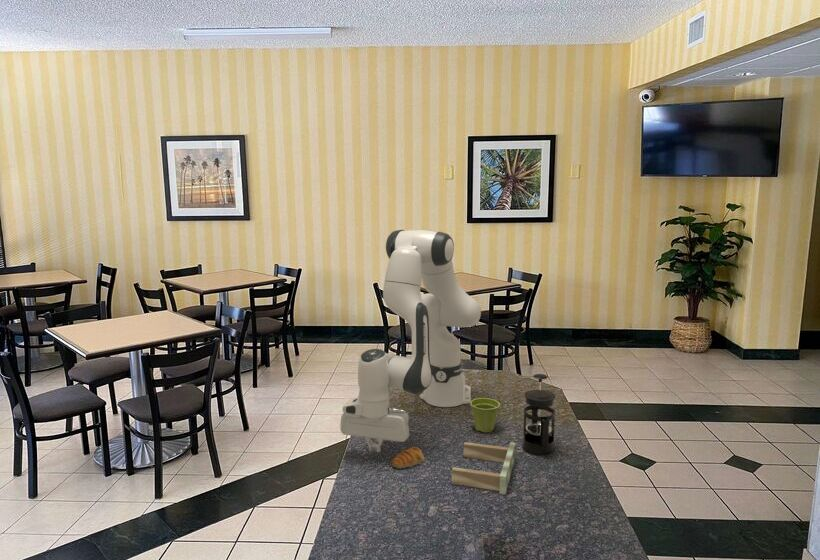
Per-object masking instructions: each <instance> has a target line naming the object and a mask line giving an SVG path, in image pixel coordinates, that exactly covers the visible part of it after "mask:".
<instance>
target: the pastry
mask: <svg viewBox="0 0 820 560" xmlns="http://www.w3.org/2000/svg"><path fill="white" fill-rule="evenodd" d="M422 462H423V463H424V462H425V456H424V453H423V452H422V450H421V448H419V447H418V446H411V447H410V448H407V449H403V450H401V451H400V452H399V453H398V454H397V455H396V456H395V457H393V459H392V464H391V466H392V467H394V468H396V469H399V470H402V469H401V468H403V469H407V468H406V467H411V468H413V467H415V466H414V465H416V466H418V465H417V464H419V465H421V464H423V463H422ZM420 463H421V464H420ZM412 466H413V467H412Z"/></svg>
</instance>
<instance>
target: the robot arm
mask: <svg viewBox="0 0 820 560" xmlns="http://www.w3.org/2000/svg"><path fill="white" fill-rule="evenodd" d="M385 251H386V252H385V253H386V255H387V257H388V259H389V260H388V263H387V267H386V271H385V276H384V282H383V289H382V290H383V291H382V297H383V298H382V299H383V301H384V303H385V305H386V307H388V309H389V310H390V311H391V312H392V313H394V314H396V315H398V316H399V317H400V318H402V319H403V320H405V322H407V324H408V325H409V327H410V330H411V331H410V332H411V356H410V357H409V356H403V355H402V356H401V355H398V354H392V353H387V352H386V351H385V350H383V349H381V348H371V349H367V350H365V351H364V352H363V353H361V354H360V357H359V361H358V367H357V382H358V383H357V384H358V388H359V391H358V396H357V397H353V398H350V399H349V400H348V401H347V402H346V403H345V404H344V405H343V406H342V412H343V413H342V414H341V416H340V425H339V426H340V430H339V431H340V433H341V434H342V435H343V436H354V437H360V438H365V439H364V440H365V442H366V444H367V445H368V448H369V452H372V453H380V452H381V448H382V447H381V446H382V444H383V442H384V441H392V442H400V443H404V442H406V440H408V439H409V436H410V427H409V421H410V419H409V418H410V415H409V413H408V411H406V410H404V409H402V408H396V407H395V408H394V407H390V393H389V389H390V388H391V389H396V390H400V391H404V392H407V393H410V394H413V395H419V398H420V399H422V400H424V401H425V402H426V404H428V405H431V406H432V407H433V406H434V407H438V408H439V407H440V408H452V407H453V408H454V407H458V406H461V405H468V404H470V402H471V401H472V394H471V393H472V390H471V389H472V388H471V385H467V384H466V375H465V374H464V373H463V365H462V364H463V363H462V361H463V360H462V358H461V346H462V345H461V342H460V340H459V339H458V338H457V337H456V336H455V335H454V334H453V333H451V332H450V331H449V330H448V328H447V327H453V328H470V327H475V325H477V324H478V322H479V321H480V319H481V315H482V309H481V305H480V303H479V301H478V300H477V299H475V298H474V297H472V296H470V295H469V294H468V293H467V292H466V291H465V290H464V288H462V287H461V285H460V284H459V282H458V280H457V278H456V274H455V270H454V269H455V268H454V264H453V260H452V259H453V257H454V253H455V243H454V240H453V238H452V237H451V235H449V234H448V233H446V232H442V231H432V230H427V229H419V230H418V229H410V230H408V229H407V230H406V229H405V230H404V229H398V230H393V231H391V232H390V234H389V235H388V236H387V239H386V243H385ZM422 284H423V287H424V288H425V290H426V291H427V292H428V293H422V294H421V288H422V287H421V286H422ZM420 393H421V394H420ZM372 439H376V441H377V443H374V442H373V440H372Z"/></svg>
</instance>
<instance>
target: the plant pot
mask: <svg viewBox="0 0 820 560" xmlns="http://www.w3.org/2000/svg"><path fill="white" fill-rule="evenodd" d="M469 405H470V406H471V409H472V414H473V422H474V429H475V430H476V431H479V432H481V433H491V432H492V431H493V430H494V429H495V426H496V425H495V424H496V419H497V414H498V413H497V412H498V410H499V408H500V406H501V403H500V402H499V401H497V400H496V399H493V398H491V397H490V398H489V397H477V398H474V399H471V402H470V403H469Z"/></svg>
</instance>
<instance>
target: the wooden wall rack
mask: <svg viewBox="0 0 820 560" xmlns="http://www.w3.org/2000/svg"><path fill="white" fill-rule="evenodd" d="M466 457H468V459H473V460H483V461H491V462H497V463H503V464H502V469H501V471H500V473H498V472H490V471H482V470H477V469H476V470H475V469H469V468H461V467H454V466H453V467H452V468H451V484H452V485H458V486H463V485H464V487H470V488H479V489H484V490H485V489H486V490H491V491H498V492H499V494H500V495H506V494H507V490H508V487H509V484H510V478H511V476H512V473H513V468H514V465H515V461H516V442H512V441H511V442H509V445H508V446H507V447H506V446H498V445H490V444H482V443H476V442H475V443H474V442H465V441H464V443H463V458H466Z"/></svg>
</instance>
